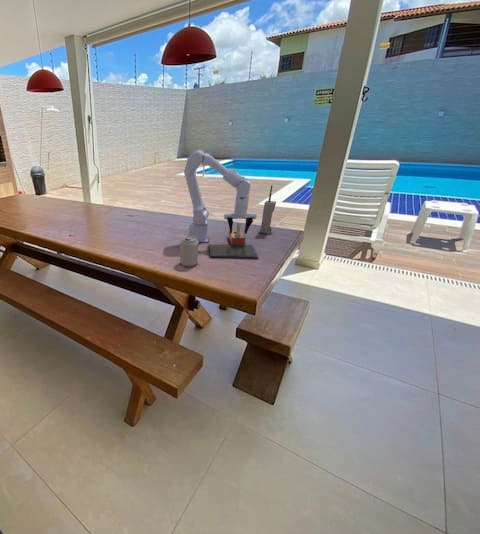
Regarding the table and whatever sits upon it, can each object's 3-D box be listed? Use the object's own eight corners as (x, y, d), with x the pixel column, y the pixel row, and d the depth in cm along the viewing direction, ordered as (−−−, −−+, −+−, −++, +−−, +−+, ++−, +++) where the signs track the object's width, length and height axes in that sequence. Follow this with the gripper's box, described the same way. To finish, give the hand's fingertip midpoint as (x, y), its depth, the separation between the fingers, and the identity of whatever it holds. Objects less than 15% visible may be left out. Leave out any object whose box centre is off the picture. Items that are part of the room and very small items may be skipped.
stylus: (235, 243, 153) (237, 224, 148) (234, 242, 154) (237, 223, 150) (238, 243, 152) (241, 224, 148) (238, 242, 154) (240, 223, 149)
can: (177, 260, 138) (178, 235, 133) (194, 259, 139) (195, 234, 133) (182, 267, 132) (183, 241, 126) (199, 266, 132) (201, 240, 127)
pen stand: (231, 245, 151) (232, 237, 149) (228, 237, 160) (229, 230, 159) (244, 245, 150) (245, 237, 148) (240, 238, 159) (241, 230, 158)
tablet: (210, 257, 139) (210, 255, 139) (208, 246, 152) (208, 244, 151) (257, 258, 136) (257, 256, 135) (251, 247, 148) (251, 244, 147)
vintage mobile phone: (270, 234, 162) (278, 186, 151) (260, 233, 164) (267, 185, 153) (271, 232, 164) (279, 184, 154) (261, 231, 167) (268, 184, 156)
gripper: (226, 208, 143) (223, 235, 149) (259, 207, 140) (255, 235, 146) (224, 204, 149) (222, 230, 155) (256, 204, 146) (252, 231, 152)
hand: (238, 232), depth 151 cm, fingers open, 6 cm apart
